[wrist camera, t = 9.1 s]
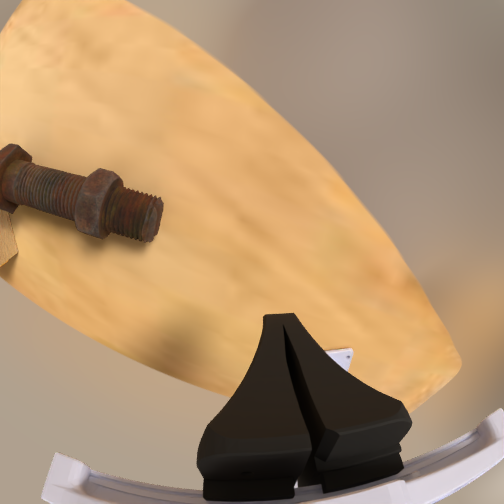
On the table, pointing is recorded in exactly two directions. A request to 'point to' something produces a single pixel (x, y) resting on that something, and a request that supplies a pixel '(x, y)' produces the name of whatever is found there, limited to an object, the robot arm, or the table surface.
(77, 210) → the bolt
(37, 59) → the table surface
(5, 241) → the block
